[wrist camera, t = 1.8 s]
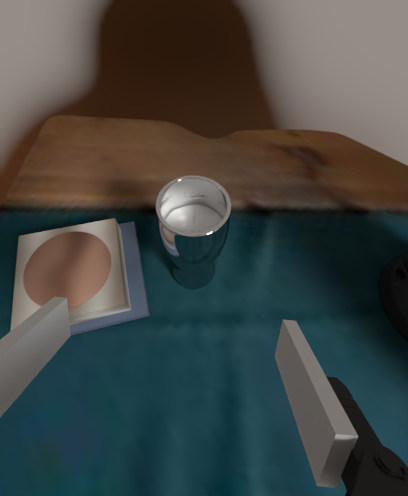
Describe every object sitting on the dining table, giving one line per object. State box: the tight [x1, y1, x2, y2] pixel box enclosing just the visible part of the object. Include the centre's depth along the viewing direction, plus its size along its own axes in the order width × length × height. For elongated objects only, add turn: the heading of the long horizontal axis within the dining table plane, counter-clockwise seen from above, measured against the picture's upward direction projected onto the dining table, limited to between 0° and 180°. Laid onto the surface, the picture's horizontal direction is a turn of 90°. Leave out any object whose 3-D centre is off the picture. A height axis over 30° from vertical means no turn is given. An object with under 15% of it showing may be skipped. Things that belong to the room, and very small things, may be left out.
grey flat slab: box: [10, 221, 150, 336], centre depth 32 cm, size 16×14×1 cm
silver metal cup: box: [156, 175, 231, 289], centre depth 28 cm, size 7×7×15 cm
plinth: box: [11, 218, 131, 331], centre depth 31 cm, size 12×12×3 cm
